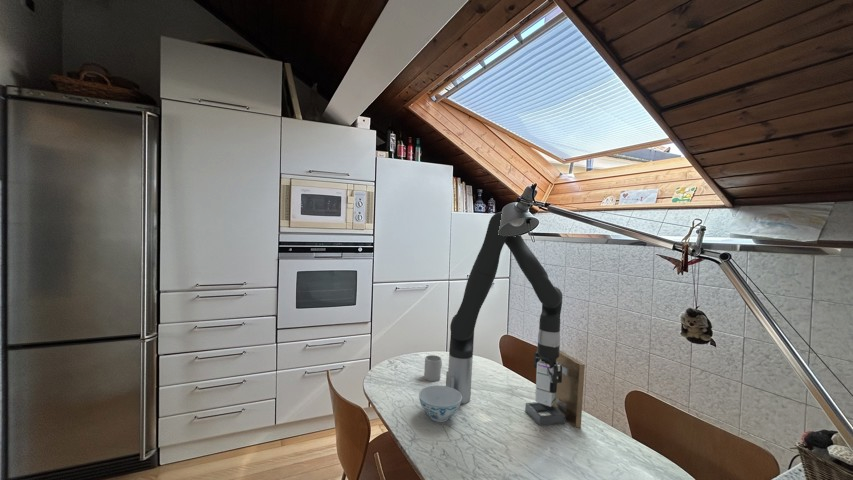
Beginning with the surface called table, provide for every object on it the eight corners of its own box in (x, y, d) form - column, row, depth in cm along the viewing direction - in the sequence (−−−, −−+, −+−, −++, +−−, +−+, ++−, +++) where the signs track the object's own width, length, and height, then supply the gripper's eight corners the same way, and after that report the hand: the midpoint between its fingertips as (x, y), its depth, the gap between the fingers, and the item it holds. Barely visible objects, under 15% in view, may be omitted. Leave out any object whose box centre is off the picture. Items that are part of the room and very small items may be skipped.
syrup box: (551, 407, 118) (553, 366, 118) (534, 401, 122) (536, 361, 122) (556, 401, 123) (558, 361, 123) (539, 395, 127) (542, 357, 126)
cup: (420, 378, 150) (421, 358, 150) (434, 371, 158) (435, 352, 158) (433, 383, 145) (435, 362, 145) (446, 376, 153) (448, 356, 153)
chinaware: (433, 434, 109) (435, 410, 109) (409, 412, 121) (411, 390, 121) (469, 421, 117) (470, 399, 117) (443, 402, 130) (444, 382, 129)
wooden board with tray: (544, 431, 114) (548, 366, 113) (521, 406, 129) (524, 349, 129) (580, 428, 117) (584, 364, 116) (553, 404, 132) (557, 348, 132)
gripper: (529, 336, 128) (526, 379, 129) (550, 349, 114) (548, 397, 115) (546, 336, 130) (544, 378, 130) (570, 348, 116) (567, 396, 116)
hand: (546, 387), depth 122 cm, fingers closed on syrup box, 8 cm apart
